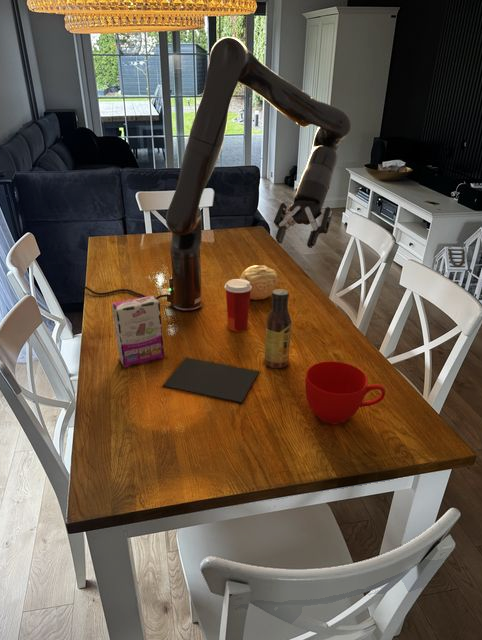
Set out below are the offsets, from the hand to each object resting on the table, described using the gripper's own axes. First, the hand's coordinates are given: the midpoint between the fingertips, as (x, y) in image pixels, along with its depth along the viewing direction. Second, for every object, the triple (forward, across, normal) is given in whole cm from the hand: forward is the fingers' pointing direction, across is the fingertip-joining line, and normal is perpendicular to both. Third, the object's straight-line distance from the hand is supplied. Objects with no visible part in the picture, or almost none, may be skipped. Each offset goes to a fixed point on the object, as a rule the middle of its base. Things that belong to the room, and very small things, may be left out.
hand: (293, 244), depth 123 cm
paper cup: (+21, -18, +18) cm, 33 cm away
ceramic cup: (+38, +24, +2) cm, 45 cm away
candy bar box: (+40, -29, -4) cm, 49 cm away
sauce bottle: (+29, +1, +10) cm, 31 cm away
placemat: (+39, -8, -2) cm, 40 cm away
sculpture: (+5, -25, +35) cm, 43 cm away
